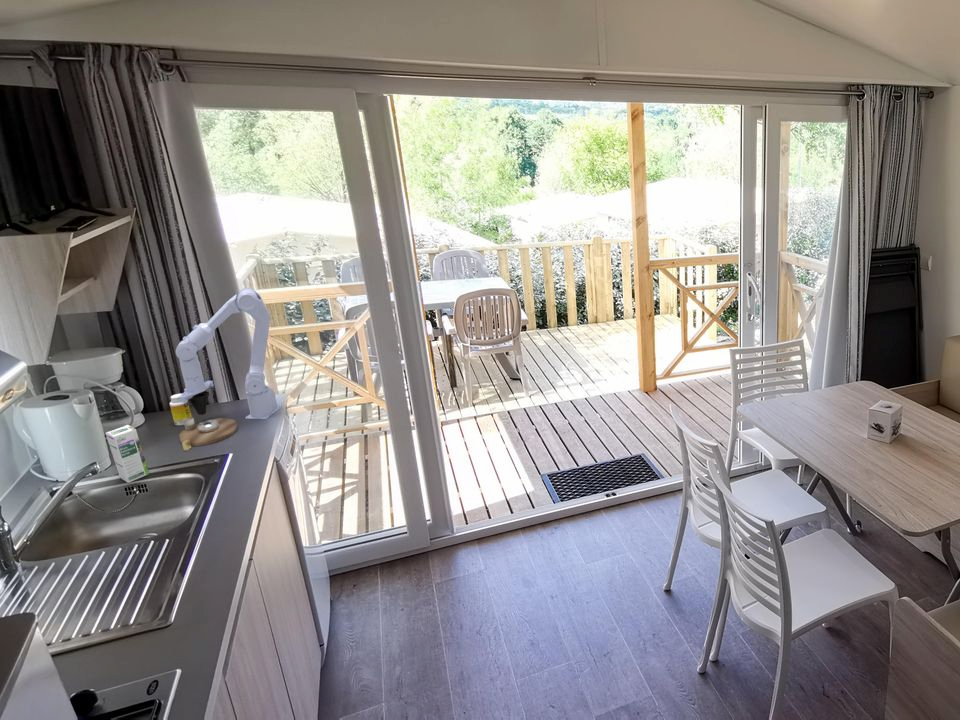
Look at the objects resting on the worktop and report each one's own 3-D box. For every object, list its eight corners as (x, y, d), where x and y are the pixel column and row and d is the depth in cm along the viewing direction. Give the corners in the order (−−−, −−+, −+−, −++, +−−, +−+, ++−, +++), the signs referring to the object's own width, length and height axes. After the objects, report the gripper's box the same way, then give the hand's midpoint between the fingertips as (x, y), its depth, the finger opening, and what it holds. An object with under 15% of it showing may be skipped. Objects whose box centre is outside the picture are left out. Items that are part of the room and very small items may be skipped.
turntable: (248, 423, 182) (245, 409, 180) (215, 447, 166) (212, 432, 164) (203, 421, 185) (200, 408, 183) (168, 445, 169) (164, 430, 168)
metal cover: (206, 425, 178) (205, 419, 178) (222, 425, 177) (221, 419, 177) (194, 433, 173) (193, 427, 172) (211, 433, 172) (209, 427, 171)
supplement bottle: (191, 424, 184) (183, 397, 181) (173, 427, 183) (165, 399, 180) (194, 418, 190) (187, 391, 186) (177, 421, 188) (169, 394, 185)
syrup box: (128, 483, 149) (113, 436, 144) (119, 477, 152) (104, 431, 148) (149, 474, 153) (136, 428, 148) (140, 468, 156) (127, 423, 152)
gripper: (197, 368, 185) (205, 404, 189) (166, 384, 171) (176, 422, 176) (215, 368, 183) (223, 405, 188) (185, 384, 170) (195, 423, 174)
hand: (202, 413), depth 182 cm, fingers closed
